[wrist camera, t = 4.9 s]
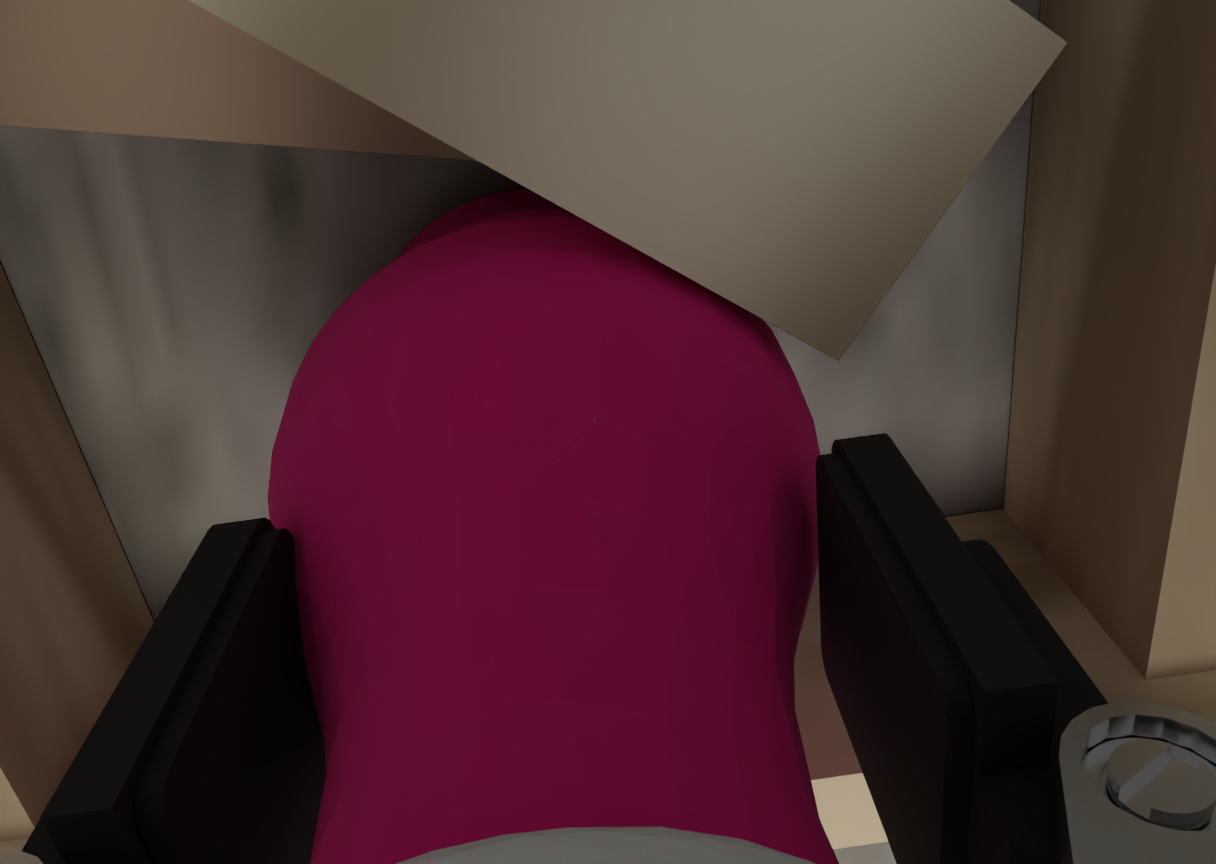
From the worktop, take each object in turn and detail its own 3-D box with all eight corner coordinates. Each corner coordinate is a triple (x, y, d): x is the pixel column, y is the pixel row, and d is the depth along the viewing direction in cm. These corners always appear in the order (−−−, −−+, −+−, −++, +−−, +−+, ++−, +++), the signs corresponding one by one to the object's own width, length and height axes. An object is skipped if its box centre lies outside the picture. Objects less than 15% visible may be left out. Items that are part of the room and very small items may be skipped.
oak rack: (1187, -452, 12) (1673, -753, 7) (1071, 560, 20) (1269, 788, 14) (-335, -235, 12) (-994, -375, 7) (109, 696, 20) (-51, 973, 14)
